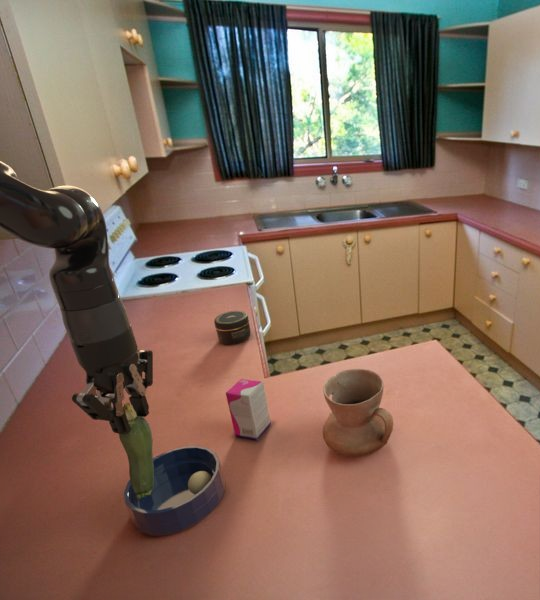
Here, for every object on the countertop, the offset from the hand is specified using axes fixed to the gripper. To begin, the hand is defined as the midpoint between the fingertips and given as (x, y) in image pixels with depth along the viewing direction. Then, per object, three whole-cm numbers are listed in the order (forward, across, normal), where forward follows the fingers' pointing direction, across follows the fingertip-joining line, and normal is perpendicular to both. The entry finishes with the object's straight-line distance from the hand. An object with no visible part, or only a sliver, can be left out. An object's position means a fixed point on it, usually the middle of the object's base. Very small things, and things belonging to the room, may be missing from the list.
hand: (133, 423), depth 69 cm
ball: (+16, -4, +5) cm, 18 cm away
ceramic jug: (+19, -21, +31) cm, 42 cm away
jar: (+19, -62, -20) cm, 68 cm away
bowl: (+19, -2, +2) cm, 20 cm away
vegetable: (+15, 0, -1) cm, 15 cm away
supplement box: (+19, -22, +6) cm, 30 cm away
